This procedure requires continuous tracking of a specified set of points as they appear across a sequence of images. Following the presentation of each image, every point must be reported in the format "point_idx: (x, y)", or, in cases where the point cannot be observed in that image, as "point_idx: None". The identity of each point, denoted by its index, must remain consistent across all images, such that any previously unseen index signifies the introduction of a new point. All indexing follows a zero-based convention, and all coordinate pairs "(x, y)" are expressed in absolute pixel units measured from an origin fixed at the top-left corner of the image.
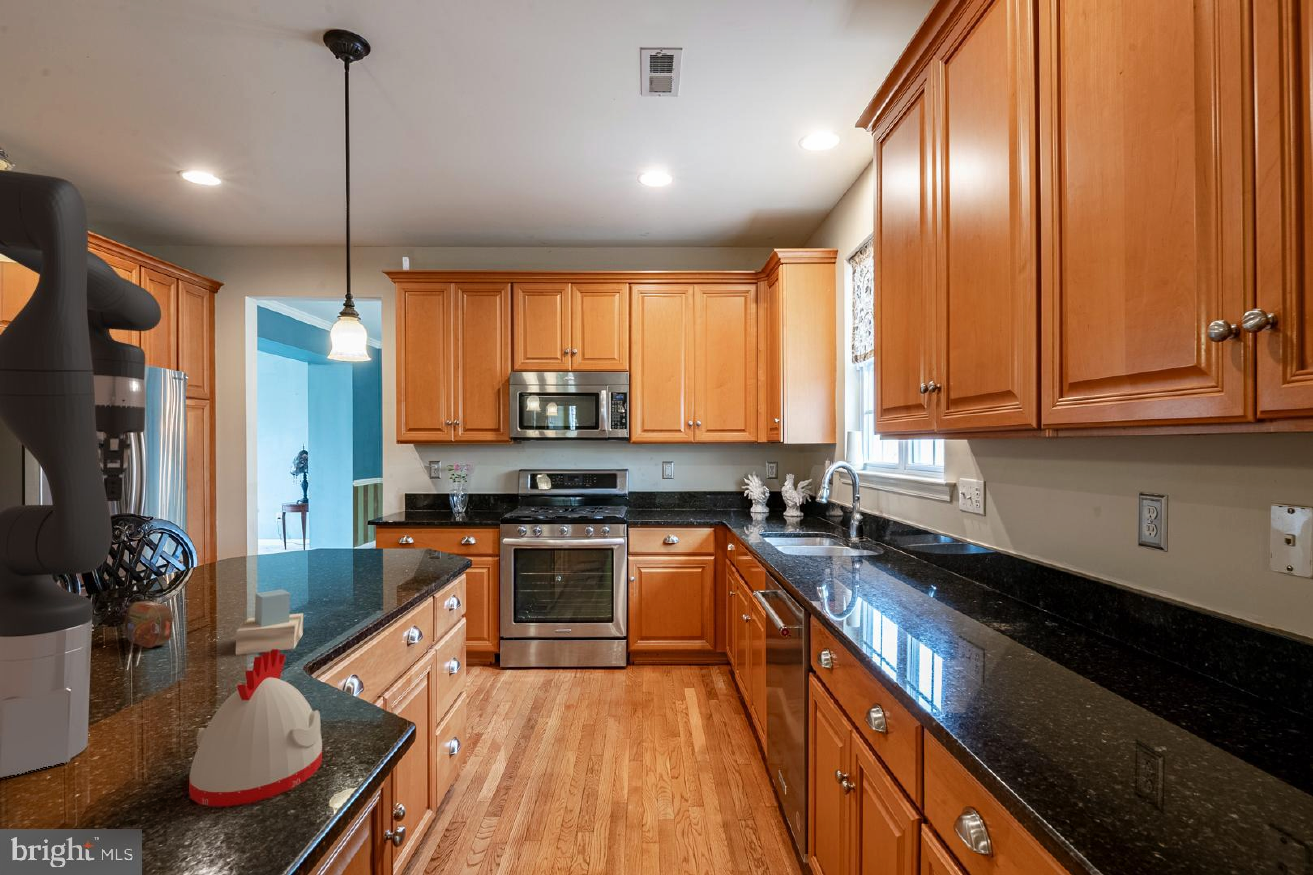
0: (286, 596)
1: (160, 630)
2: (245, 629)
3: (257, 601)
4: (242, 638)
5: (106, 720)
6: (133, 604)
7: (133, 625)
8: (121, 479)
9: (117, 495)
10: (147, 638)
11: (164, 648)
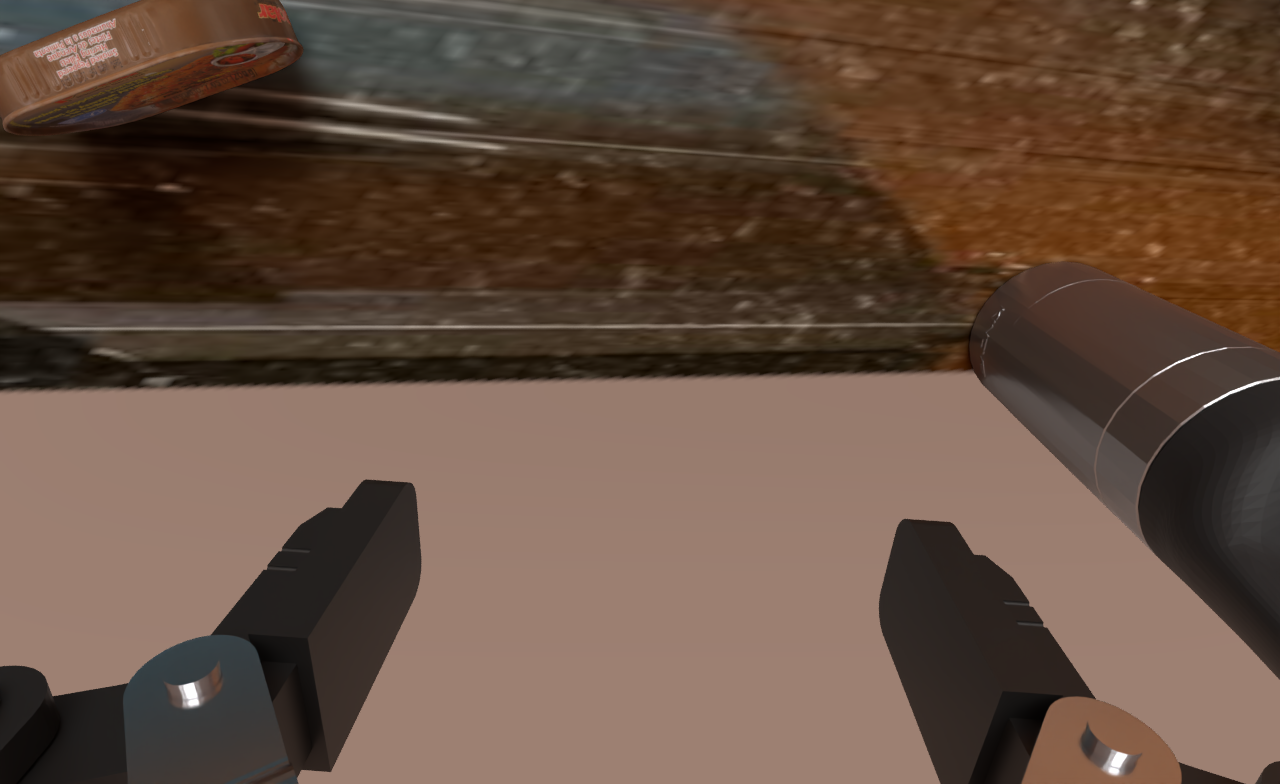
0: None
1: (292, 40)
2: None
3: None
4: None
5: (927, 220)
6: (6, 115)
7: (96, 110)
8: (1049, 689)
9: (1006, 576)
10: (226, 73)
11: (306, 25)
